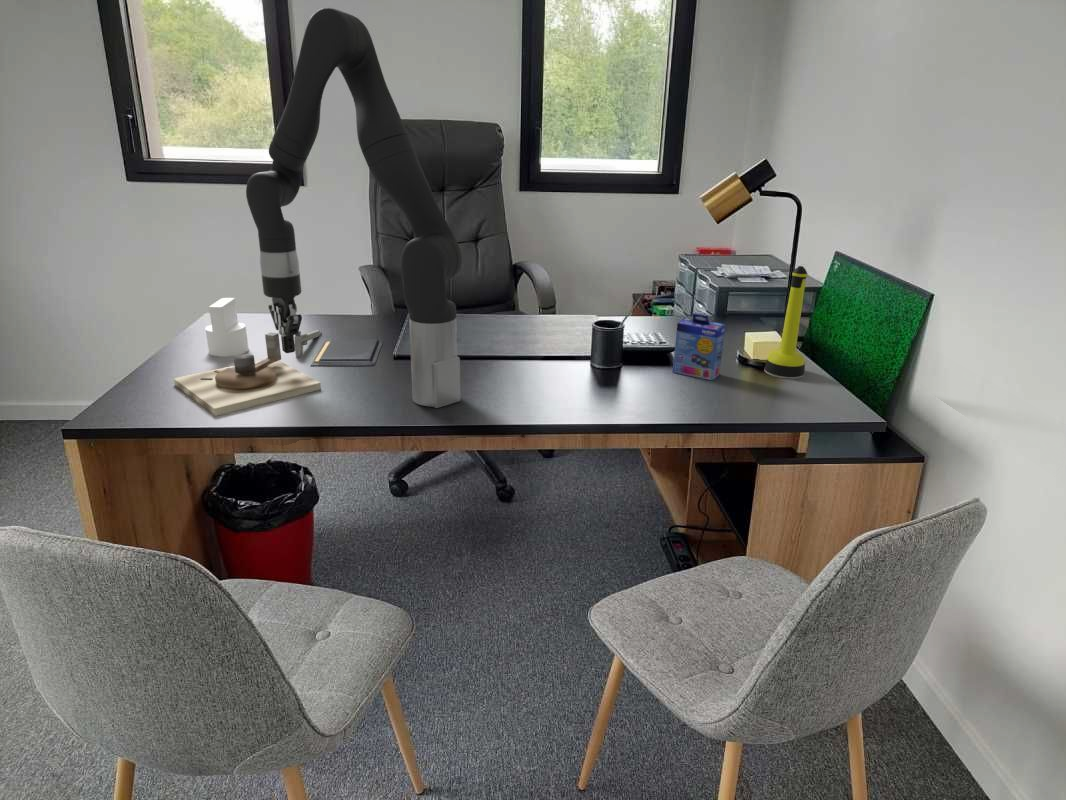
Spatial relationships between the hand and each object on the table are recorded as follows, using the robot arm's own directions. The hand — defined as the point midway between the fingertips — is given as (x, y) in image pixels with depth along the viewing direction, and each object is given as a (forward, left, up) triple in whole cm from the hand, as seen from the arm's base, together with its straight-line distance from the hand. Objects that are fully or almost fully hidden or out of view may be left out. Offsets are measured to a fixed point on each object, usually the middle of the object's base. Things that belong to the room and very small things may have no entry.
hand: (288, 351), depth 155 cm
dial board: (+1, +9, -6) cm, 11 cm away
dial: (+2, +7, -4) cm, 9 cm away
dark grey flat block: (+8, -19, -7) cm, 21 cm away
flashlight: (-69, -89, -6) cm, 113 cm away
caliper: (+20, -15, -7) cm, 26 cm away
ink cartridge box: (-56, -72, -6) cm, 91 cm away
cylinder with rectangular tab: (+28, +2, -6) cm, 29 cm away
